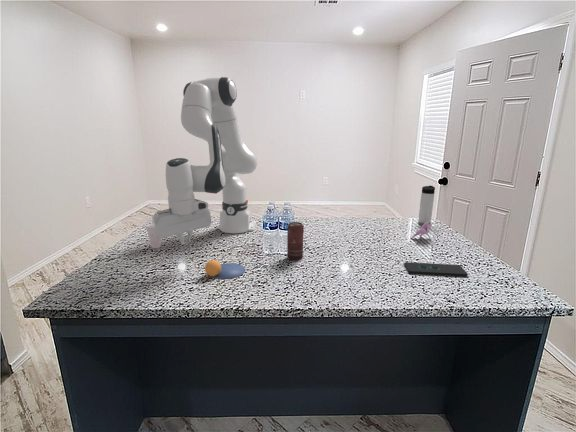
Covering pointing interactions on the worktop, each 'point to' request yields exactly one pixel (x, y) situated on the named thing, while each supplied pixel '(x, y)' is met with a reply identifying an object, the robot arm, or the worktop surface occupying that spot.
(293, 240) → the can
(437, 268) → the smart home device
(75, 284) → the worktop surface
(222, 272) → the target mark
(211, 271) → the ball
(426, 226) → the pink bird figurine
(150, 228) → the smoothie
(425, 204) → the travel mug
